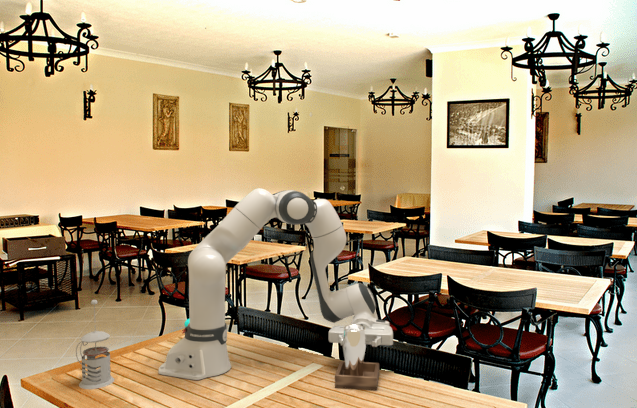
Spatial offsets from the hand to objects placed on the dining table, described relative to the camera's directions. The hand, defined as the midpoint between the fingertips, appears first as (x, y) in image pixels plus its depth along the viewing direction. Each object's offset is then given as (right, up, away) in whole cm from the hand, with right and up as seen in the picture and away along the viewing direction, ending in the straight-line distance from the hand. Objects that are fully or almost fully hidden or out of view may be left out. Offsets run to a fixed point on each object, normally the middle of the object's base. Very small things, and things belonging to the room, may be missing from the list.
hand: (358, 343), depth 150 cm
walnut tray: (0, -11, -1) cm, 11 cm away
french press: (-79, -12, 0) cm, 80 cm away
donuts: (-55, -10, +31) cm, 64 cm away
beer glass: (-2, -10, -1) cm, 10 cm away
